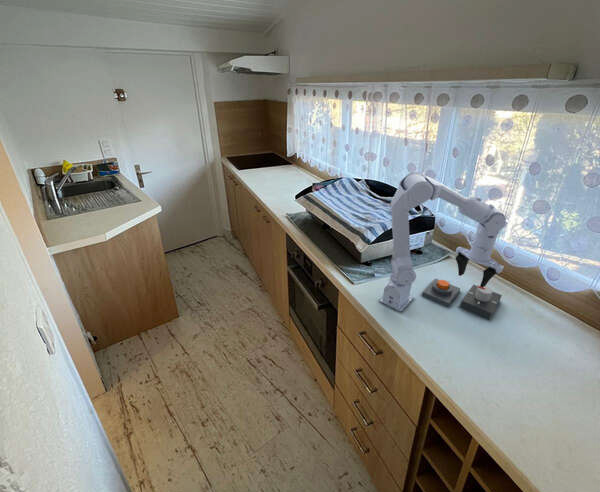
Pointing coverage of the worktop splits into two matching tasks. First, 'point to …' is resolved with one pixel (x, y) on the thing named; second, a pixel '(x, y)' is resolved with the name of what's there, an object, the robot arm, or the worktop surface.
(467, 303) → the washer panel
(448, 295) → the block
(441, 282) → the button
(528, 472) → the worktop surface
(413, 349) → the worktop surface
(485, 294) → the program dial
